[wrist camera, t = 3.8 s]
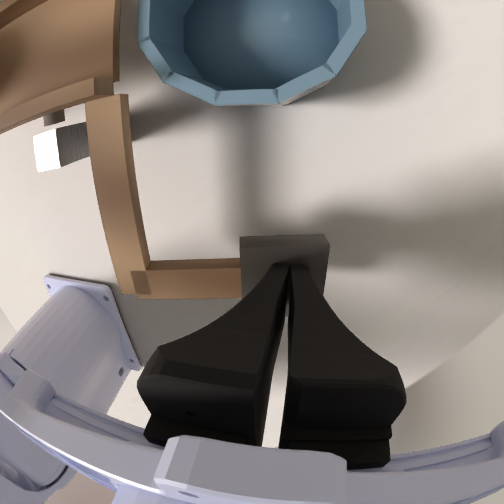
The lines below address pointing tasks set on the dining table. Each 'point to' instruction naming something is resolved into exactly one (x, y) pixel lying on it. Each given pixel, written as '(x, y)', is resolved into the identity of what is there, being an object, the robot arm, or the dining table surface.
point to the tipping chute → (119, 147)
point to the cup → (249, 46)
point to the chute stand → (61, 146)
